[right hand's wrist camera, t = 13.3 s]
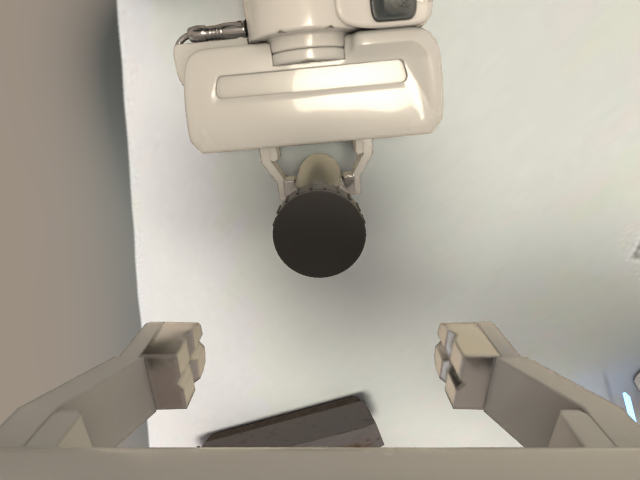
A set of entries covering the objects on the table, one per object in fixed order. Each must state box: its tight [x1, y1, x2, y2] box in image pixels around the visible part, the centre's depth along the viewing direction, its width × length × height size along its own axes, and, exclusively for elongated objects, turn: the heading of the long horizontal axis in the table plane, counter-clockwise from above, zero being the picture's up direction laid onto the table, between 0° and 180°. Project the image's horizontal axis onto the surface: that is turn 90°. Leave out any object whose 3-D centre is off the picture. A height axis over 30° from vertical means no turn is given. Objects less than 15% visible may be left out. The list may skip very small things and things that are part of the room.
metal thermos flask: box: [292, 153, 347, 192], centre depth 27 cm, size 4×4×17 cm
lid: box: [273, 182, 366, 278], centre depth 20 cm, size 5×5×2 cm
